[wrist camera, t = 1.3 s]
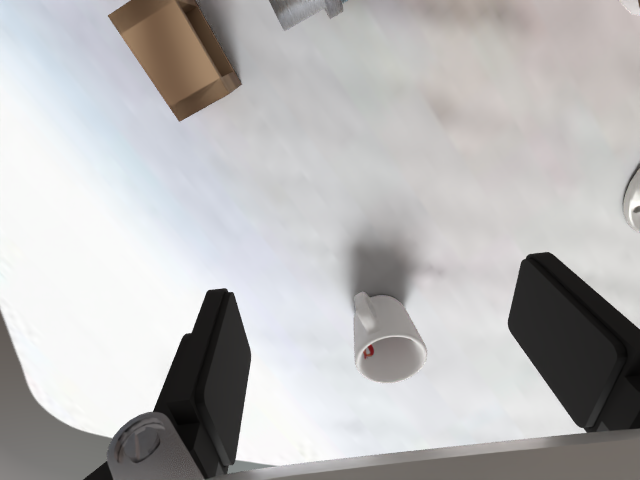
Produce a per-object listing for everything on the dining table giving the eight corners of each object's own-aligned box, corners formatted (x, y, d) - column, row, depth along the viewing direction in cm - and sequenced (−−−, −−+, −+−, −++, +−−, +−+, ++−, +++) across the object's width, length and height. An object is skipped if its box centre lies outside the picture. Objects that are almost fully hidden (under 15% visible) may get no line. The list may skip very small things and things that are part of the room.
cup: (325, 288, 43) (329, 337, 36) (383, 260, 41) (399, 305, 34) (364, 341, 48) (375, 393, 41) (418, 318, 46) (438, 367, 39)
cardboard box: (189, -10, 27) (162, -21, 22) (241, 84, 31) (229, 93, 26) (143, 19, 28) (107, 15, 23) (199, 108, 32) (179, 121, 27)
